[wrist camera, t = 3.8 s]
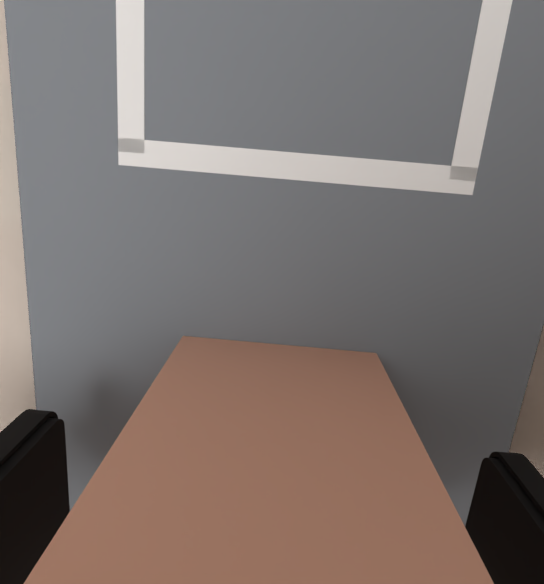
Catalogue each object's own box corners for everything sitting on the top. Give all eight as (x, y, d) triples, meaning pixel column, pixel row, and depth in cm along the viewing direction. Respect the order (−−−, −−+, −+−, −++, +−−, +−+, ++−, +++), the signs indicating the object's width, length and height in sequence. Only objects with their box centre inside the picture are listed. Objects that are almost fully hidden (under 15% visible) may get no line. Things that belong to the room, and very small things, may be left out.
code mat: (735, -420, 7) (754, -446, 7) (460, 606, 13) (464, 616, 13) (-23, -474, 7) (-37, -503, 7) (54, 567, 13) (49, 576, 13)
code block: (376, 352, 11) (528, 650, 4) (350, 511, 12) (431, 934, 5) (182, 335, 11) (12, 601, 4) (178, 496, 12) (45, 895, 5)
